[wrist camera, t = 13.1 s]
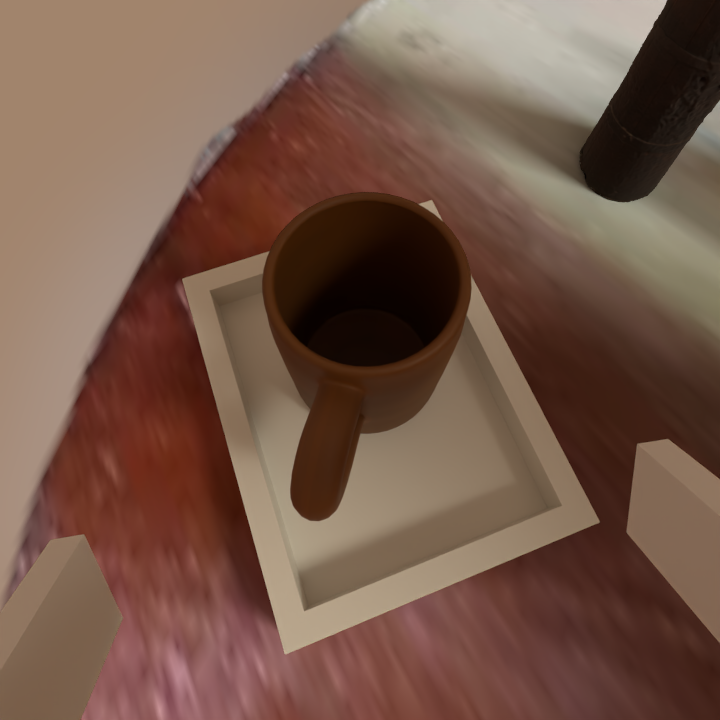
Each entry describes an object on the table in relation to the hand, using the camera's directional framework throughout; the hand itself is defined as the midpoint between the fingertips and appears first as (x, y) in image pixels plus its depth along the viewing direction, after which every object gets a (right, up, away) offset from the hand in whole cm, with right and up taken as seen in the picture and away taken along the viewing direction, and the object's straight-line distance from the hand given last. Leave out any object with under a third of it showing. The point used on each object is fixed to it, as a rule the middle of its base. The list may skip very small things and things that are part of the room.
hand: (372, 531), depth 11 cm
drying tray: (0, +2, +14) cm, 14 cm away
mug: (-1, +2, +13) cm, 13 cm away
